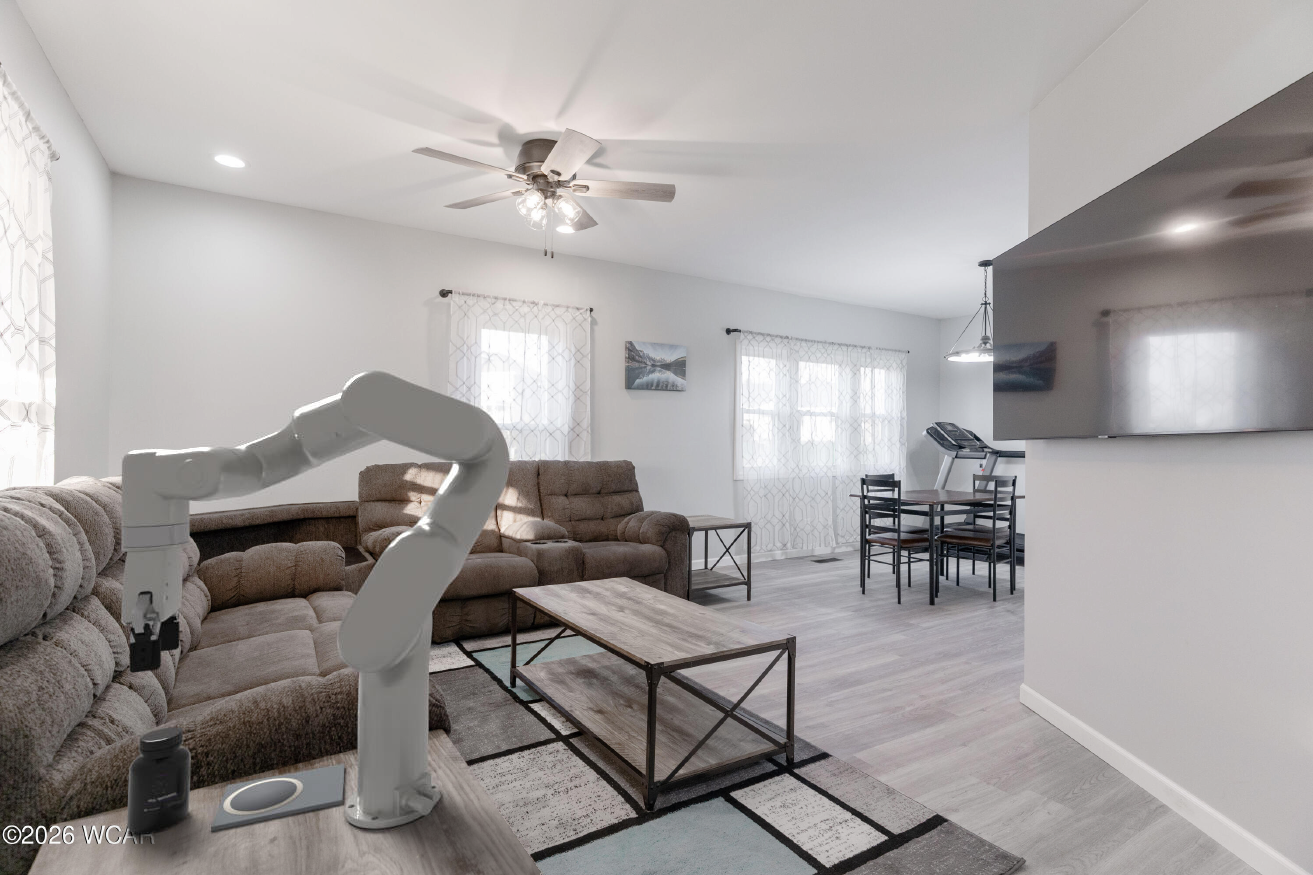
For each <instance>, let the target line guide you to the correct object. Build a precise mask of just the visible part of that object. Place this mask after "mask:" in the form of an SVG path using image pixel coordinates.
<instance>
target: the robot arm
mask: <svg viewBox="0 0 1313 875" xmlns="http://www.w3.org/2000/svg"><path fill="white" fill-rule="evenodd" d="M384 440H385V441H387V442H389V443H393V444H396V445H399V446H402V447H404V448H408V449H410V450H414V451H416V452H419V453H421V454H424V455H427V456H430V457H432V458H435V459H438V460H443V461H446V462H449V463H450V462H451V463H452V464H451V469H450V470H449V473H448V474H447V476H446V477H445V479H444V481H443V482H442V483H441V485H440V486H439V488H438V489H437V491H436V493H435V495H434V496H433V498H432V500H431V502H430V503H429V506H428V507H427V508H426V510H425V511H424V513H423V514H422V516H421V518H420V519H419V520H418V522H417V523H416V524H415V525H414V526H413V527H412V528H410V529H408V530H406V531H403V533H401V534H399V535H398V536H397V537H396V538H394V539H393V540H392V541H391V542H390V544H388V546H386V548H385V550H384V551H383V552H382V553H381V554H380V555H381V556H380V557H379V558H378V560H377V562H376V563H375V564H374V566H373V568H372V570H371V571H370V572H369V575H368V577H367V578H366V580H365V581H364V583H363V584H362V586H361V588H360V589H359V590H358V592H357V594H356V596H355V597H354V599H353V601H352V603H351V604H350V606H349V607H348V609H347V611H346V612H345V614H344V616H343V617H342V619H341V621H340V624H339V626H338V630H337V635H336V636H337V637H336V643H337V650H338V653H339V656H340V657H341V660H343V662H344V663H345V664H346V665H347V666H348V667H350V669H353V670H354V671H357V672H359V676H358V689H357V690H358V691H357V692H358V695H357V697H358V700H357V701H358V702H357V703H358V704H357V791H355V792H354V793H353V794H352V795H351V796H350V797H349V798H348V799H347V800H346V803H345V807H344V814H345V815H344V816H345V818H346V820H347V822H348V823H350V824H351V825H353V826H356V827H359V828H362V829H363V828H364V829H373V830H375V829H386V828H387V829H388V828H392V827H397V826H400V825H405V824H407V823H410V822H413V821H415V820H417V819H419V818H421V817H422V816H427V815H428V814H430V812H432V810H433V808H434V807H435V806H436V804H437V803H438V801H439V800H440V799H441V796H442V795H441V792H440V788H439V785H438V783H437V782H436V781H435V780H433V779H432V773H430V772H429V693H430V689H429V688H430V656H431V655H430V654H431V646H432V645H431V644H432V636H433V634H432V633H433V611H434V609H435V608H436V606H437V604H438V603H439V601H440V599H441V598H442V596H443V594H444V593H445V591H446V590H447V589H448V587H449V585H450V584H451V583H452V582H453V581H454V580H455V579H456V578H457V576H458V575H459V574H460V572H461V570H462V569H463V566H464V564H465V563H466V562H465V561H466V560H467V557H468V556H469V554H470V552H471V550H472V548H473V546H475V544H476V542H477V540H478V538H479V536H480V534H481V533H482V531H483V530H484V527H485V526H486V524H487V522H488V520H489V518H490V517H491V515H492V513H493V511H494V510H495V508H496V506H497V504H498V503H499V501H500V498H501V496H502V495H503V492H504V490H505V488H506V485H507V481H508V478H509V472H510V461H511V460H510V450H509V445H508V443H507V440H506V438H505V436H504V434H503V432H502V430H501V428H500V427H499V424H497V422H496V421H495V420H494V418H492V417H491V415H490V414H489V413H488V412H486V411H485V410H484V409H482V408H480V407H478V406H476V405H473V404H471V403H469V402H466V401H463V400H459V399H458V398H454V397H452V396H449V395H447V394H443V393H440V392H438V391H435V390H433V389H428V387H427V388H426V387H423V386H421V385H419V384H418V385H417V384H415V383H413V382H410V381H407V380H404V379H403V378H400V377H399V376H396V375H394V374H391V373H389V372H385V371H382V370H381V371H380V370H369V371H366V372H362V373H359V374H357V375H355V376H354V377H352V378H351V379H350V380H349V381H348V382H347V383H346V384H345V386H344V387H343V389H342V391H341V392H340V393H337V394H334V395H333V396H330V397H327V398H324V399H321V400H320V401H319V400H318V401H317V402H314V403H311V404H308V405H306V406H302V407H301V408H299V409H297V410H296V411H294V412H293V414H292V417H291V420H290V422H289V423H288V424H287V425H286V426H285V427H283V428H281V429H280V430H278V431H276V432H274V433H272V434H269V435H267V436H264V437H262V438H259V439H257V440H254V441H252V442H249V443H246V444H244V445H240V446H237V447H233V446H232V447H226V446H225V447H224V446H223V447H221V446H220V447H218V446H216V447H215V446H214V447H213V446H211V447H209V446H208V447H194V448H193V447H192V448H187V449H136V450H131V451H129V452H126V453H125V455H123V457H122V461H121V551H122V552H127V553H126V557H125V563H124V572H123V582H122V597H121V599H122V600H121V617H120V620H121V624H123V625H124V626H130V625H131V627H130V629H129V631H130V636H129V672H130V673H132V674H133V673H134V674H135V673H142V672H150V671H156V670H159V669H160V668H161V666H162V652H168V651H175V650H178V649H179V647H180V621H179V619H180V613H179V610H180V608H181V606H182V599H183V564H182V563H183V559H182V558H183V556H182V548H184V547H188V546H190V501H192V502H210V501H219V500H225V499H233V498H241V497H245V496H246V497H247V496H249V495H252V494H255V493H257V492H261V491H264V490H265V489H268V488H270V487H273V486H275V485H279V484H281V483H283V482H286V481H289V480H291V479H293V478H296V477H298V476H300V475H302V474H304V473H306V472H308V471H310V470H314V469H316V468H318V467H320V466H323V465H324V464H325V463H328V462H330V461H333V460H335V459H337V458H340V457H343V456H345V455H347V454H350V453H353V452H355V451H358V450H361V449H362V448H366V447H367V446H371V445H372V444H376V443H379V442H381V441H384Z"/></svg>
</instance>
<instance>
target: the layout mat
mask: <svg viewBox="0 0 1313 875" xmlns="http://www.w3.org/2000/svg"><path fill="white" fill-rule="evenodd" d="M344 777H345V763H339V764H335V765H330V766H324V767H319V768H313V769H312V768H311V769H307V770H303V771H298V772H290V773H284V774H280V775H274V776H270V777H265V778H259V779H254V780H248V781H243V782H238V783H233V784H227V786H226V789H225V791H224V793H223V796H222V798H221V801H220V803H219V806H218V808H217V811H216V813H215V816H214V818H213V821H212V823H211V826H210V832H215V831H220V830H223V829H224V830H225V829H229V828H233V827H237V826H238V827H239V826H243V825H248V824H252V823H258V822H261V821H262V822H263V821H266V820H271V819H278V818H281V817H286V816H291V815H295V814H300V813H304V812H310V811H315V810H319V809H325V808H330V807H333V806H340V805H343V799H344V783H345V782H344V780H345V778H344Z"/></svg>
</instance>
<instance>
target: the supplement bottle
mask: <svg viewBox="0 0 1313 875" xmlns="http://www.w3.org/2000/svg"><path fill="white" fill-rule="evenodd" d="M183 744H184V731H183V729H182V728H181V727H165V728H160V729H155V730H152V731H150V732H146V733H145V734H144V735H142V736H141V737H140V738H139V747H138V753H139V755H138V756H137V757H135V758H134V759H133V761H132V762H131V764H130V766H129V770H128V772H129V773H128V790H127V792H128V794H127V795H128V796H127V799H128V800H127V815H126V816H127V825H126V826H127V829H128V830H129V831H130V832H131V833H132V834H138V835H143V834H146V835H147V834H152V833H157V832H161V831H164V830H167V829H169V828H171V827H173V826H176V825H177V824H179V823H180V822H181V821H183V820H184V819H185V818H186V816H188V814H189V810H190V794H191V793H190V789H191V787H190V786H191V762H192V760H191V759H192V758H191V757H192V756H191V751H190V750H189V749H188V748H187V747H185V746H183Z"/></svg>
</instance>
